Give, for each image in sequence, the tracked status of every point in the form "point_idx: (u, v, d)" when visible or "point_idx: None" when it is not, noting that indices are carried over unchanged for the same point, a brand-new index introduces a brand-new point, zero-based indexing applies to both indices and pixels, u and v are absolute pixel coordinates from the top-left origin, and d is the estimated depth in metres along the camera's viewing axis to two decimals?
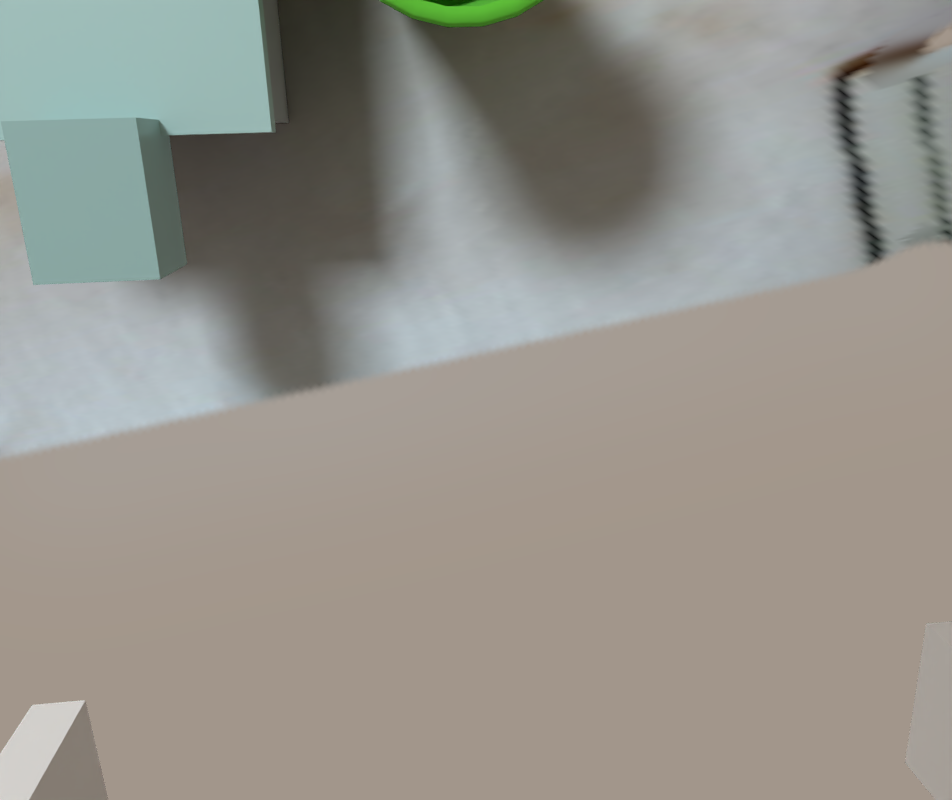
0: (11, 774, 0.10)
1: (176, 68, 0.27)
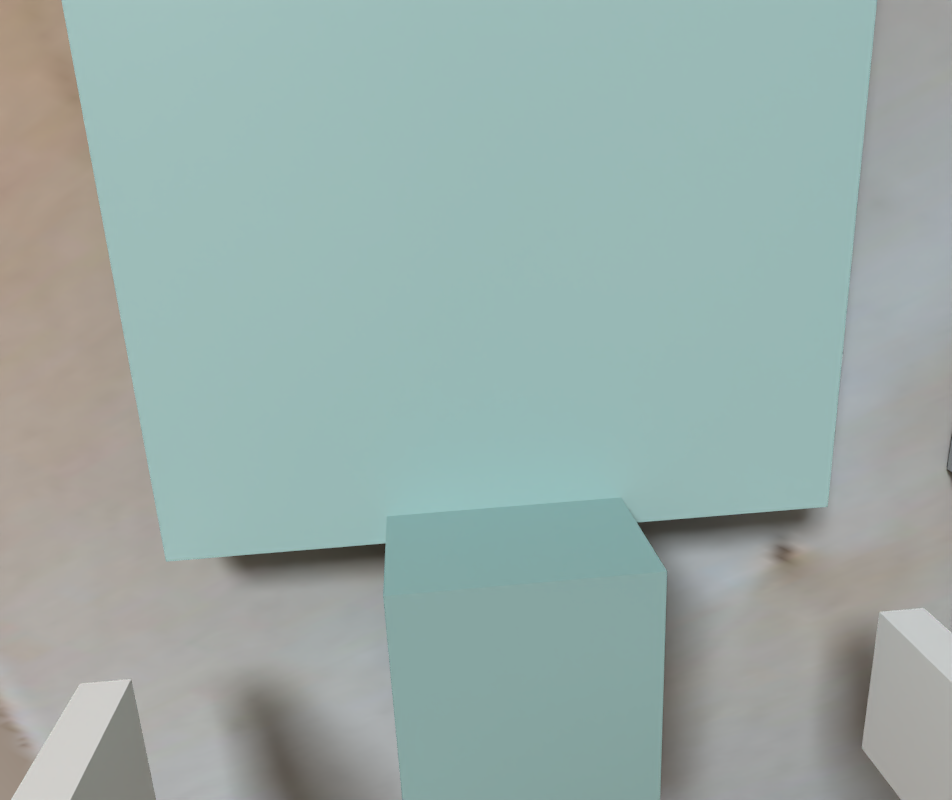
0: (65, 746, 0.11)
1: (669, 406, 0.13)
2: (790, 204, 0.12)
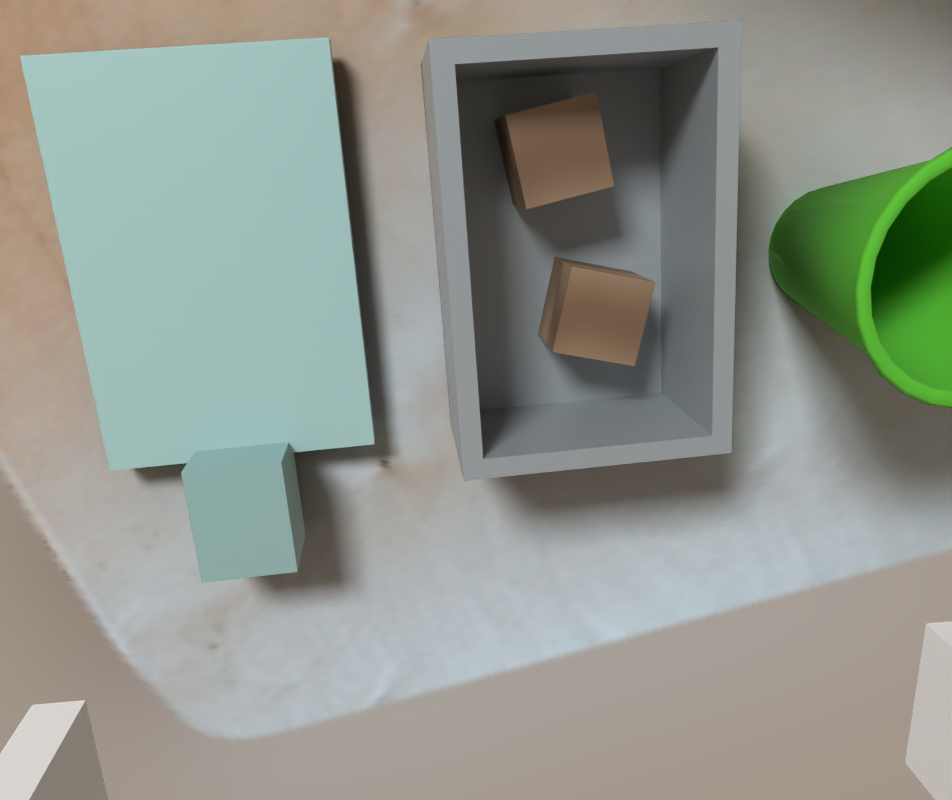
0: (12, 772, 0.10)
1: (302, 405, 0.35)
2: (335, 330, 0.34)
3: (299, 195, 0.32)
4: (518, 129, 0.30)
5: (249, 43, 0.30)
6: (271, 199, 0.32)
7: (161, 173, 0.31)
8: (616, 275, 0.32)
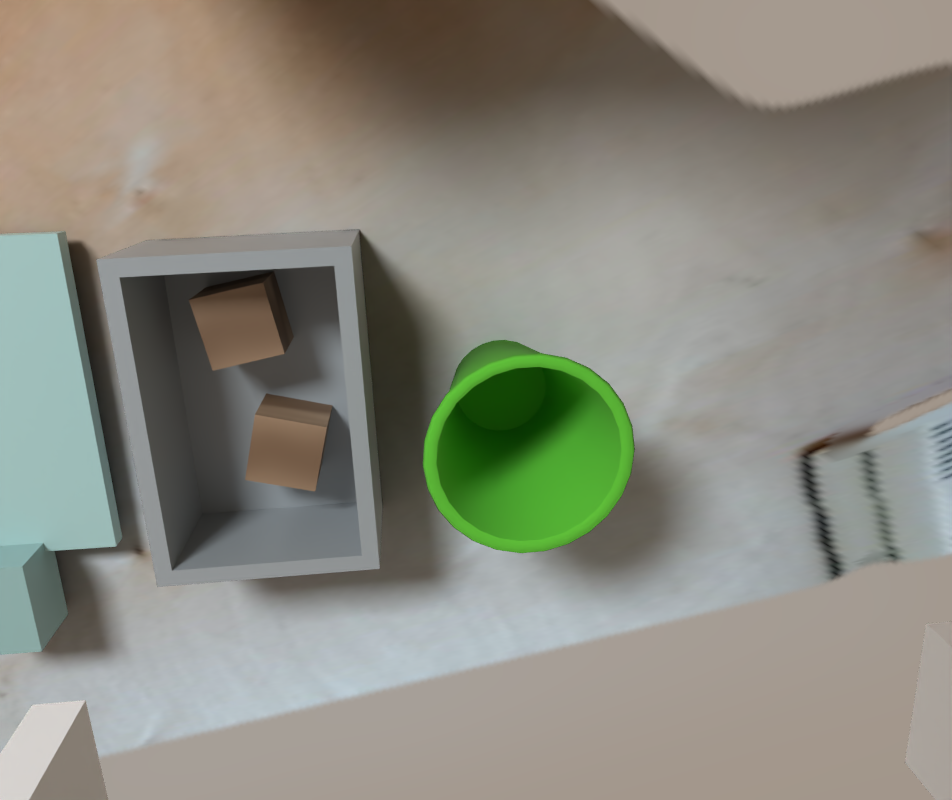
0: (11, 773, 0.10)
1: (53, 514, 0.42)
2: (77, 457, 0.41)
3: (40, 353, 0.40)
4: (200, 310, 0.37)
5: None
6: (17, 355, 0.40)
7: None
8: (293, 421, 0.39)
